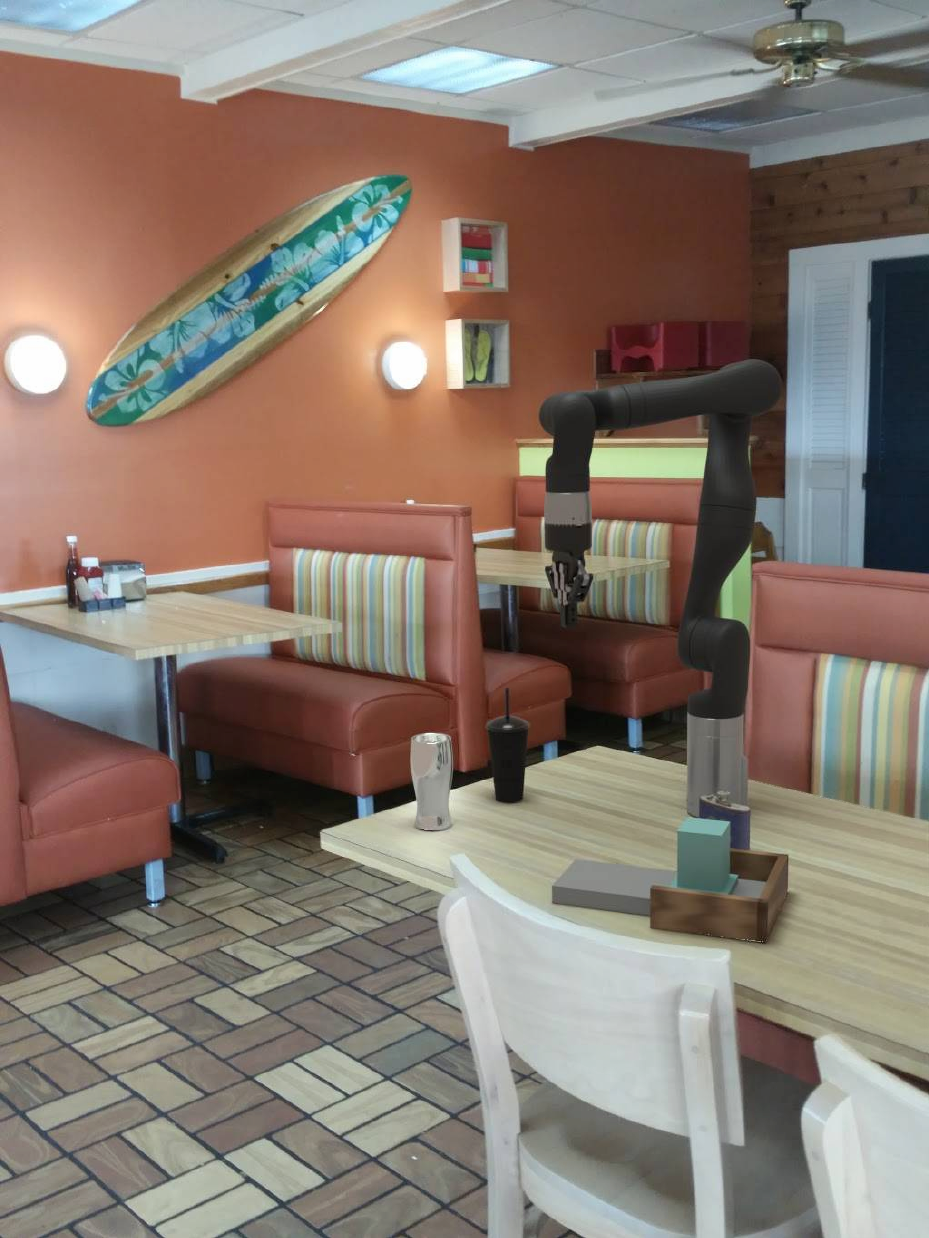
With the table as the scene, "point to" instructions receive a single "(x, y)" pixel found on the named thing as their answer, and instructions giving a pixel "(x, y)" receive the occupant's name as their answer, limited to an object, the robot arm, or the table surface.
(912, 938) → the table surface
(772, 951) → the table surface
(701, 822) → the teal block
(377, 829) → the table surface
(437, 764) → the beer glass
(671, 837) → the table surface
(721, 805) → the flask
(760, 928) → the box
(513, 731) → the drinking cup
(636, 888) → the board
